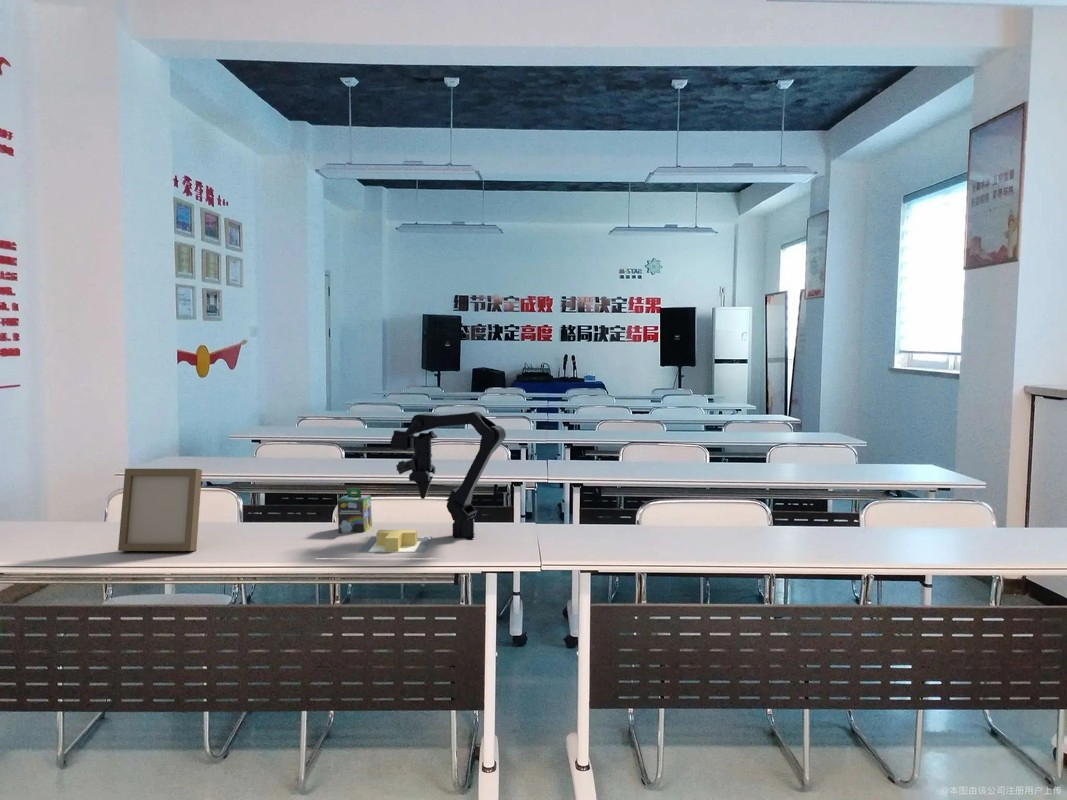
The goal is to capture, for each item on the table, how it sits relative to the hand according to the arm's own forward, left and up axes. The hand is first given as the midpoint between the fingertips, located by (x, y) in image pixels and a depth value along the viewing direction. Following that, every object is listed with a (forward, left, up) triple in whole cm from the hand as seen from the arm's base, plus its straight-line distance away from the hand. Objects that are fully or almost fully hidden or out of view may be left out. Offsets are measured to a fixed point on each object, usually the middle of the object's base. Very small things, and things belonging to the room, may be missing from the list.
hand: (422, 498), depth 269 cm
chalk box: (+24, -6, -12) cm, 28 cm away
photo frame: (+77, +19, -12) cm, 80 cm away
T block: (+6, +19, -12) cm, 23 cm away
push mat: (+6, +16, -12) cm, 20 cm away
